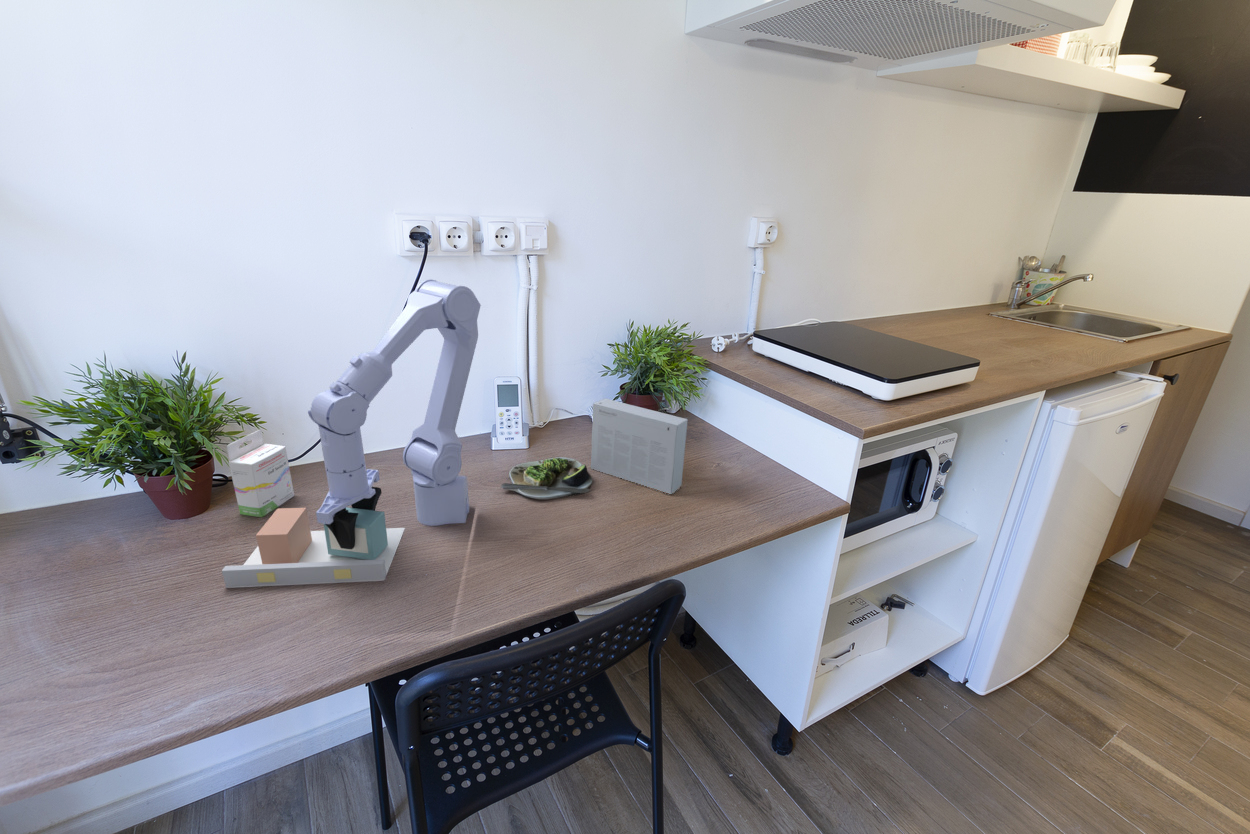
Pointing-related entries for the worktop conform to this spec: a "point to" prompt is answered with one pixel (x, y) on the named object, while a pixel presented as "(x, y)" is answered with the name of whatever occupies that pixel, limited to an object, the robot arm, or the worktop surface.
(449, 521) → the robot arm
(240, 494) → the ink box
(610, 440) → the skincare box
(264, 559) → the terracotta carton
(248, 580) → the shelf board
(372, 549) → the teal carton
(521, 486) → the salad plate
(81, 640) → the worktop surface
